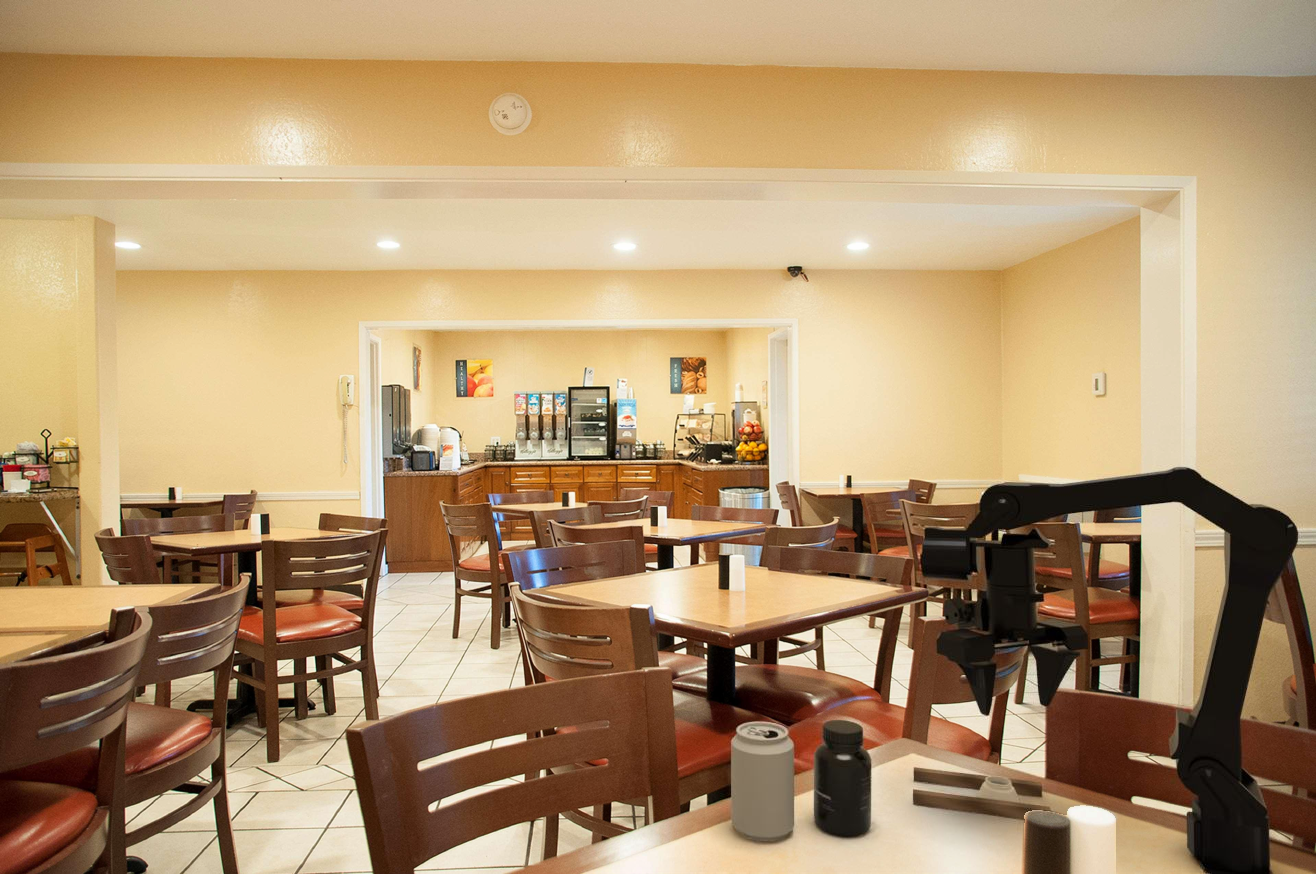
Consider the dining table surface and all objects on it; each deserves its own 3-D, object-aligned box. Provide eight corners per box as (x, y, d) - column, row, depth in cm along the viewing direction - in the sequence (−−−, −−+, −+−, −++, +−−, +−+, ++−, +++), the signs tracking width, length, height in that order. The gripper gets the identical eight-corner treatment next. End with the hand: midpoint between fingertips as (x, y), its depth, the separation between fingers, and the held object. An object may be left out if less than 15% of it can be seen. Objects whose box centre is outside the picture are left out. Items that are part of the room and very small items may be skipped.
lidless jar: (984, 791, 105) (972, 804, 101) (984, 769, 105) (972, 781, 101) (1024, 802, 101) (1013, 816, 98) (1024, 779, 102) (1013, 792, 98)
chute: (1040, 793, 104) (1040, 782, 104) (1051, 823, 95) (1051, 810, 95) (913, 778, 109) (913, 767, 109) (912, 804, 100) (912, 792, 100)
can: (793, 847, 89) (792, 741, 90) (727, 841, 91) (727, 737, 91) (795, 818, 97) (794, 720, 97) (734, 812, 98) (734, 716, 99)
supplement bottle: (806, 831, 93) (805, 729, 94) (822, 808, 99) (822, 713, 100) (864, 844, 90) (863, 739, 90) (877, 820, 96) (876, 721, 97)
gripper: (1020, 570, 108) (1025, 685, 108) (906, 580, 102) (910, 701, 102) (1088, 581, 98) (1094, 708, 97) (965, 592, 92) (970, 727, 91)
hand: (1015, 710), depth 97 cm, fingers open, 9 cm apart
